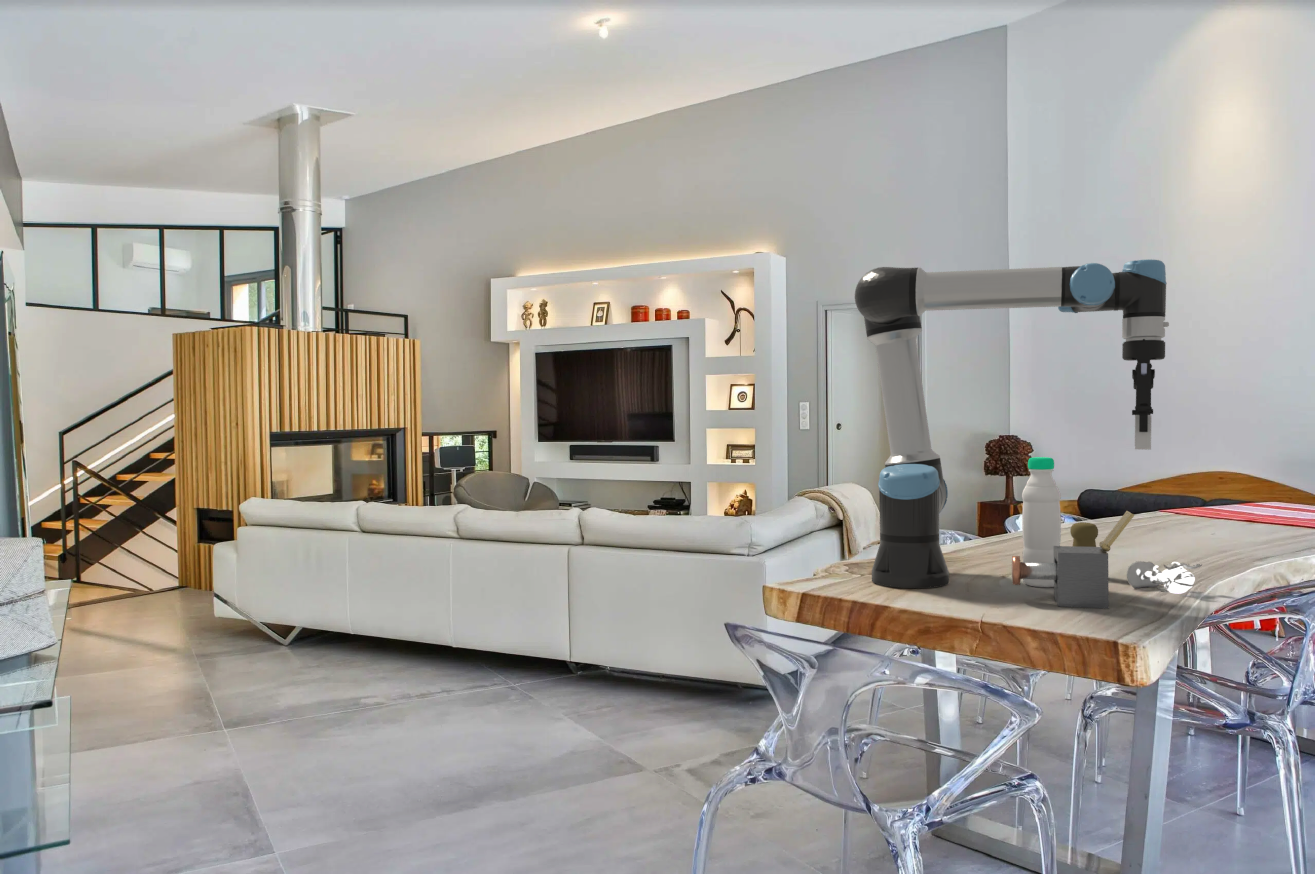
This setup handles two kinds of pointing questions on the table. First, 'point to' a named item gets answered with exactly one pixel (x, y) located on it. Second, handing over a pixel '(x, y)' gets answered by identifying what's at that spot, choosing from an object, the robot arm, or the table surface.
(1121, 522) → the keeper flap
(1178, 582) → the figurine
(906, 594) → the table surface
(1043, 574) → the pin
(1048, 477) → the water bottle
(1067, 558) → the block
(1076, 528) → the cork
